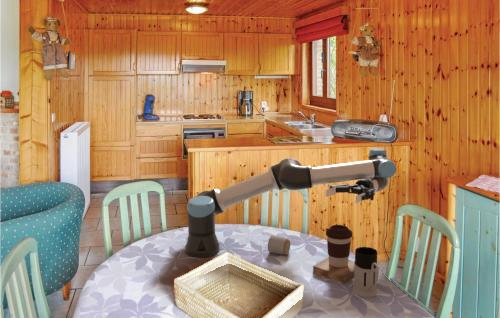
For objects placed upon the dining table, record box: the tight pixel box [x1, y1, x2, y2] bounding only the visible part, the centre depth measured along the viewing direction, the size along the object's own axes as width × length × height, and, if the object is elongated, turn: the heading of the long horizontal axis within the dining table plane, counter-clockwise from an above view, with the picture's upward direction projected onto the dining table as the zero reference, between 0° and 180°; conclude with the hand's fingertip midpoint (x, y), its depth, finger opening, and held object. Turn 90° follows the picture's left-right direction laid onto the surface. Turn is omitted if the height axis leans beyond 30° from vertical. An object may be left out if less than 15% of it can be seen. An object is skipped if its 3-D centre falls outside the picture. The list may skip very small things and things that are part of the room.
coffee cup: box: [325, 224, 353, 268], centre depth 169 cm, size 10×10×15 cm
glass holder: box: [351, 246, 380, 298], centre depth 152 cm, size 9×14×15 cm, turn 8°
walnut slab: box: [312, 256, 355, 285], centre depth 170 cm, size 14×14×3 cm
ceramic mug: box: [267, 234, 291, 256], centre depth 191 cm, size 11×8×8 cm
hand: (341, 196), depth 176 cm, fingers open, 13 cm apart
